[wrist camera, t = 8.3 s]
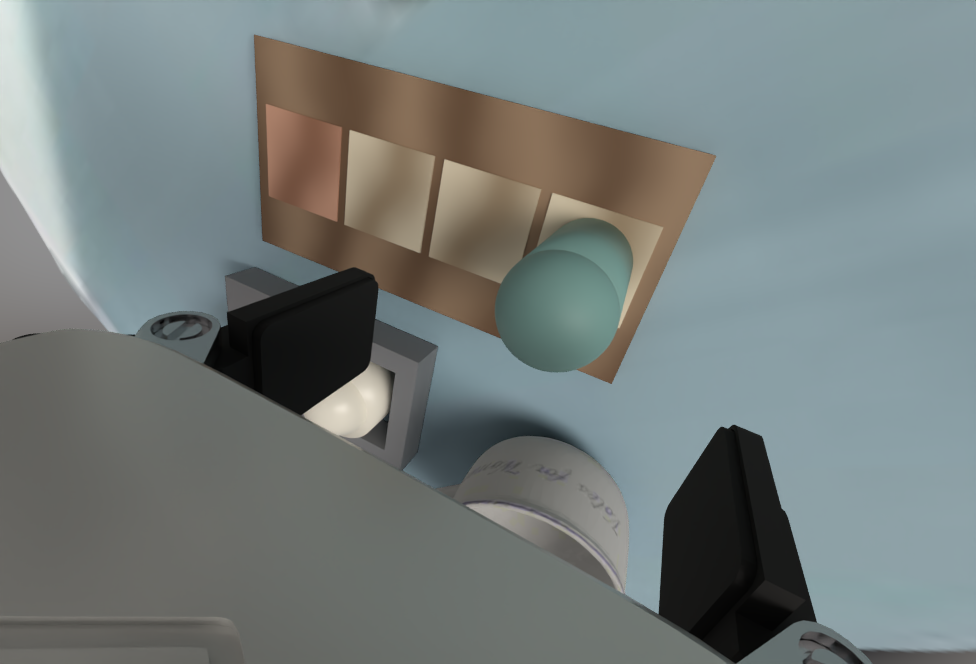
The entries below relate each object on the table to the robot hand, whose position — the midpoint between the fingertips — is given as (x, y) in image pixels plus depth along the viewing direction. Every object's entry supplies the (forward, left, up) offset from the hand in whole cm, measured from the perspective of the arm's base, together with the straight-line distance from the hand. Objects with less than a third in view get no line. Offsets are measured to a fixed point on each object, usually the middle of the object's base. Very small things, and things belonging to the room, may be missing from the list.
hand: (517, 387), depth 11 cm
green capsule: (0, 0, -12) cm, 12 cm away
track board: (-9, 0, -13) cm, 16 cm away
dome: (-13, -14, -13) cm, 23 cm away
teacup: (+1, -16, -13) cm, 20 cm away
